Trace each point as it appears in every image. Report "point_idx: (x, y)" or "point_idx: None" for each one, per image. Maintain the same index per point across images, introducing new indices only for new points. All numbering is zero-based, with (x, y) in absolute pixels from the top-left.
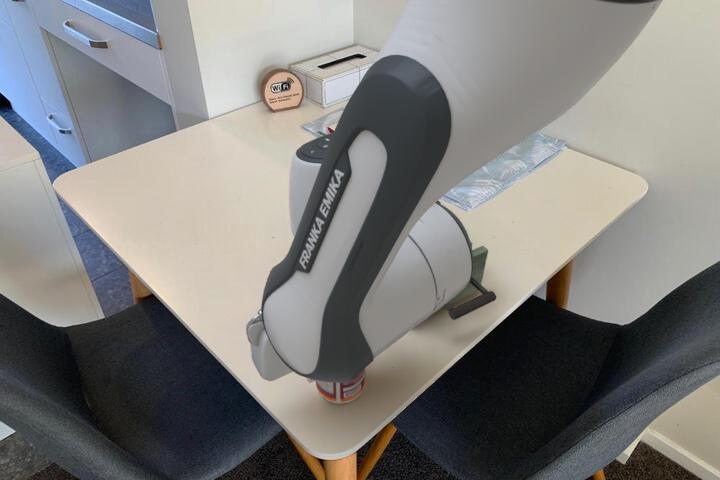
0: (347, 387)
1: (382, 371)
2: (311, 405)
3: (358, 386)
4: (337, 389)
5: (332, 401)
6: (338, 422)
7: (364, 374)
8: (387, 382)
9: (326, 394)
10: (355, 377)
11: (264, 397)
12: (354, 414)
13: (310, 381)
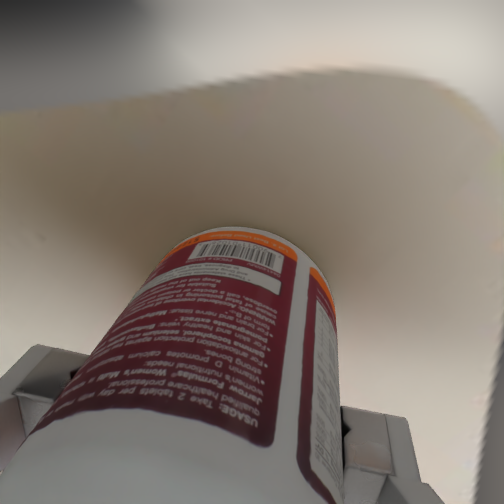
0: (258, 285)
1: (84, 248)
2: (383, 307)
3: (204, 257)
4: (302, 306)
5: (320, 272)
6: (356, 190)
7: (147, 284)
8: (91, 202)
9: (332, 311)
10: (199, 305)
11: (481, 421)
12: (281, 177)
13: (405, 427)
